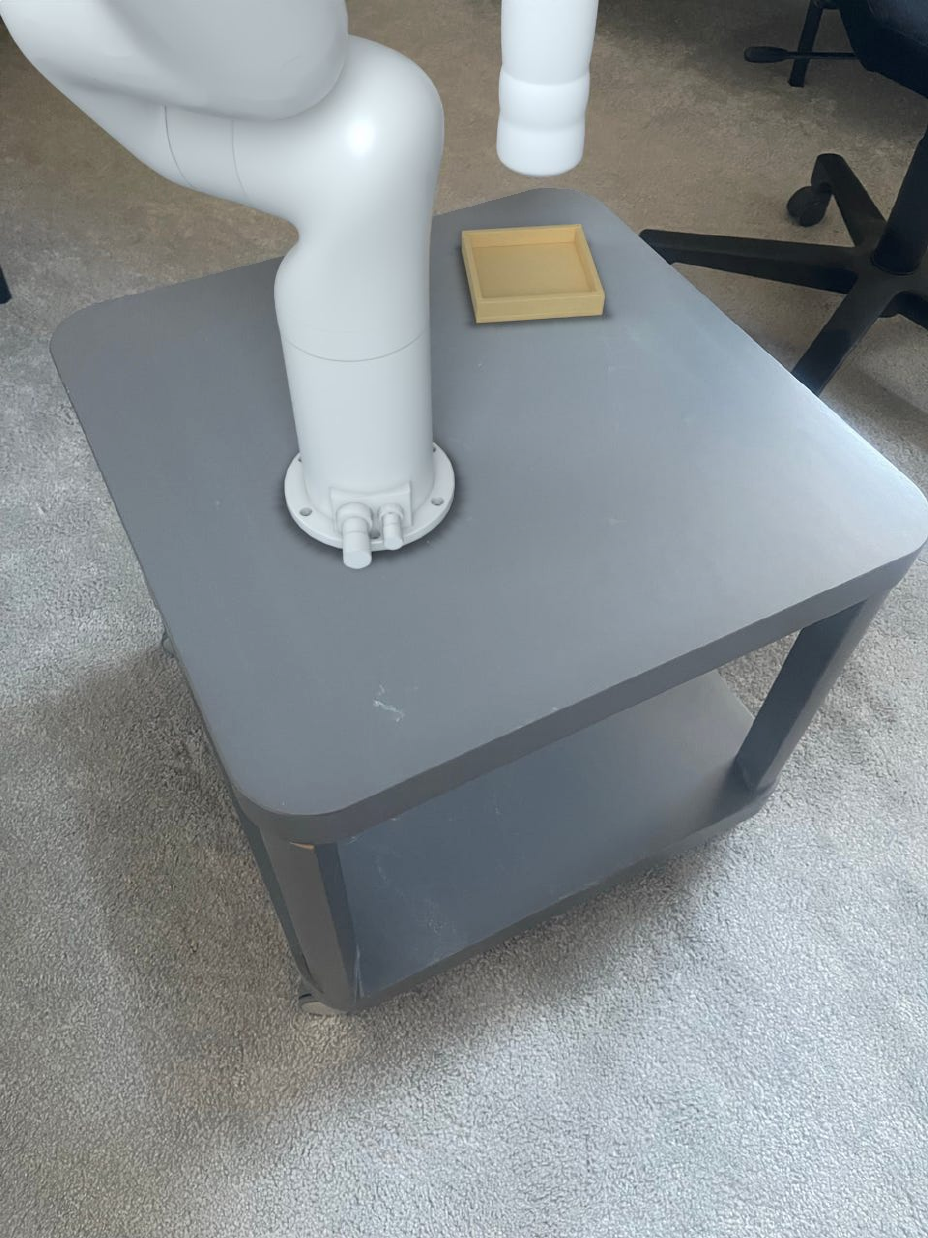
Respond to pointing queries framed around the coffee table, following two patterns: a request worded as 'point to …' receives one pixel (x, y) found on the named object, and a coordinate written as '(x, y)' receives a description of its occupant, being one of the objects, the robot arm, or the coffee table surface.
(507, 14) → the water bottle
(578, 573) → the coffee table surface
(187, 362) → the coffee table surface
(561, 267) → the tray
